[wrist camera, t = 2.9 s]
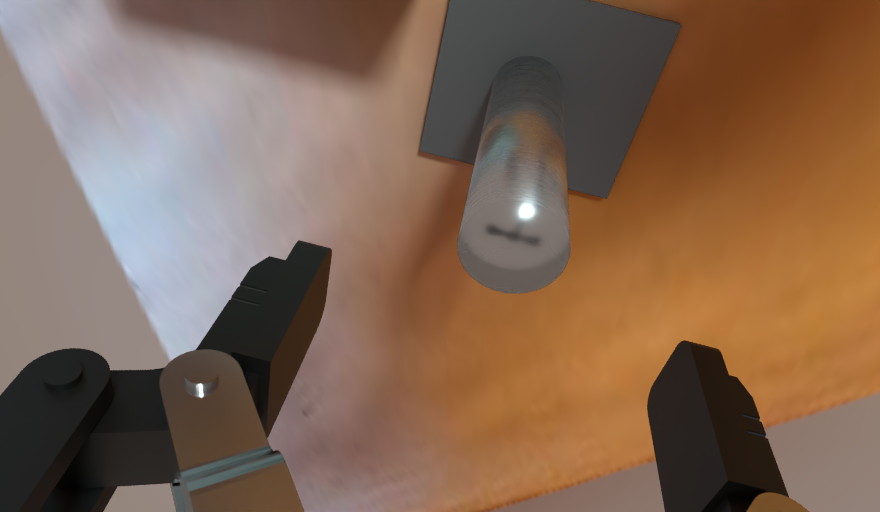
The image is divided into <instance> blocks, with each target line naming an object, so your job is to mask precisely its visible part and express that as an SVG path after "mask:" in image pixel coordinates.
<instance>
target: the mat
mask: <svg viewBox="0 0 880 512" xmlns="http://www.w3.org/2000/svg"><path fill="white" fill-rule="evenodd" d="M680 28H681V25H680V23H677V22H673V21H669V20H665V19H661V18H657V17H653V16H649V15H645V14H641V13H638V12H634V11H630V10H626V9H622V8H618V7H614V6H610V5H606V4H602V3H598V2H595V1H591V0H450V3H449V8H448V13H447V18H446V23H445V28H444V33H443V38H442V42H441V47H440V52H439V57H438V62H437V67H436V72H435V77H434V82H433V87H432V92H431V97H430V101H429V106H428V111H427V116H426V121H425V126H424V131H423V136H422V141H421V146H420V151H422V152H426V153H430V154H434V155H438V156H442V157H446V158H450V159H454V160H458V161H461V162H465V163H469V164H473V165H475V160H476V156H477V151H478V147H479V142H480V138H481V134H482V129H483V125H484V120H485V116H486V111H487V107H488V103H489V98H490V94H491V89H492V85H493V81H494V78H495V76H496V74H497V73H498V71H499V70H500V69H501V67H502V66H503V65H505V64H506V63H507V62H509V61H510V60H512V59H515V58H517V57H521V56H535V57H539V58H542V59H544V60H546V61H548V62H549V63H551V64H552V65H553V66H554V67H555V68H556V70H557V71H558V73H559V75H560V77H561V80H562V84H563V100H564V123H565V145H566V167H567V189H571V190H575V191H578V192H582V193H586V194H590V195H594V196H598V197H602V198H606V199H607V197H608V195H609V192H610V190H611V188H612V185H613V183H614V181H615V178H616V176H617V174H618V171H619V169H620V167H621V165H622V162H623V160H624V158H625V155H626V153H627V151H628V148H629V146H630V144H631V141H632V139H633V137H634V134H635V132H636V130H637V128H638V125H639V123H640V121H641V118H642V116H643V114H644V111H645V109H646V107H647V104H648V102H649V100H650V97H651V95H652V93H653V90H654V88H655V86H656V84H657V81H658V79H659V77H660V74H661V72H662V70H663V67H664V65H665V63H666V60H667V58H668V56H669V53H670V51H671V49H672V47H673V44H674V42H675V40H676V37H677V35H678V33H679V30H680Z"/></svg>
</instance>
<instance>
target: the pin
mask: <svg viewBox="0 0 880 512" xmlns="http://www.w3.org/2000/svg"><path fill="white" fill-rule="evenodd" d="M457 250H458V255H459V259H460V261H461V263H462V265H463V267H464V269H465V270H466V271H467V272H468V274H469V275H470V276H471V277H472V278H473V279H474V280H476V281H477V282H479V283H480V284H482V285H484V286H485V287H488V288H490V289H492V290H496V291H499V292H504V293H527V292H532V291H535V290H538V289H541V288H543V287H545V286H547V285H548V284H550V283H552V282H553V281H554V280H555V279H556V278H557V277H558V276H559V275H560V274H561V273H562V272H563V270H564V269H565V267H566V265H567V262H568V259H569V255H570V233H569V211H568V189H567V167H566V145H565V123H564V100H563V84H562V80H561V77H560V75H559V73H558V71H557V70H556V68H555V67H554V66H553V65H552V64H551V63H549V62H548V61H546V60H544V59H542V58H539V57H535V56H521V57H517V58H515V59H512V60H510V61H509V62H507V63H506V64H505V65H503V66H502V67H501V69H500V70H499V71H498V73H497V74H496V76H495V78H494V81H493V85H492V89H491V94H490V98H489V103H488V107H487V111H486V116H485V120H484V125H483V129H482V134H481V138H480V142H479V147H478V151H477V156H476V160H475V165H474V169H473V173H472V178H471V182H470V187H469V191H468V196H467V200H466V204H465V209H464V213H463V218H462V222H461V227H460V231H459V235H458V241H457Z"/></svg>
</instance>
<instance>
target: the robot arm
mask: <svg viewBox="0 0 880 512" xmlns="http://www.w3.org/2000/svg"><path fill="white" fill-rule="evenodd" d="M331 256H332V250H331V248H327V247H323V246H319V245H315V244H311V243H308V242H304V241H298V242H297V243H296V244H295V246H294V248H293V249H292V251H291V253H290V254H289V256H288V258H287V259H286V260H282V259H278V258H274V257H270V256H269V257H268V258H266V259H264V260H263V261H261V262H260V263H258V264H256V265H255V266H253V267H251V269H250V270H249V271H248V273H247V274H246V276H245V277H244V279H243V280H242V282H241V283H240V287H238V288H237V289H236V291H235V292H234V294H233V295H232V298H231V300H229V301H228V303H227V304H226V306H225V307H224V309H223V310H222V312H221V313H220V315H219V316H218V318H217V319H216V321H215V322H214V324H213V325H212V327H211V328H210V330H209V331H208V333H207V334H206V336H205V337H204V339H203V340H202V342H201V343H200V345H199V346H198V347H197V349H196V350H194V351H190V352H187V353H184V354H182V355H180V356H178V357H176V358H175V359H173V360H172V361H171V362H169V363H168V365H167V366H166V367H165V368H161V369H154V370H118V371H117V370H113V371H112V370H111V371H110V368H109V365H108V363H107V361H106V360H105V359H104V358H103V357H102V356H100V355H99V354H97V353H95V352H93V351H90V350H85V349H76V348H73V349H72V348H71V349H62V350H57V351H54V352H51V353H47V354H45V355H43V356H41V357H39V358H37V359H36V360H33V361H32V362H31V363H29V364H28V365H27V366H26V367H25V368H24V369H23V370H22V371H21V372H20V374H18V376H17V377H16V378H15V379H14V380H13V381H12V383H11V384H10V385H9V386H8V387H7V388H6V390H5V391H4V392H3V393H2V394H1V395H0V512H103V511H104V509H105V507H106V506H107V504H108V502H109V500H110V498H111V497H112V495H113V493H114V492H115V490H116V488H117V486H131V485H147V484H163V483H170V486H171V490H172V495H173V499H174V504H175V508H176V512H304V509H303V507H302V504H301V501H300V499H299V496H298V493H297V491H296V488H295V486H294V483H293V480H292V478H291V475H290V472H289V470H288V467H287V465H286V462H285V460H284V458H283V456H282V454H281V453H280V452H279V451H278V450H276V451H272V449H271V447H270V445H269V443H268V440H267V438H268V436H269V434H270V432H271V429H272V427H273V425H274V423H275V421H276V418H277V416H278V414H279V412H280V410H281V407H282V405H283V403H284V401H285V399H286V396H287V394H288V392H289V390H290V388H291V385H292V383H293V381H294V379H295V377H296V374H297V372H298V370H299V368H300V366H301V363H302V361H303V359H304V357H305V355H306V353H307V350H308V348H309V346H310V344H311V342H312V339H313V337H314V335H315V333H316V331H317V328H318V326H319V323H320V321H321V318H322V314H323V311H324V307H325V302H326V295H327V287H328V280H329V272H330V264H331ZM647 410H648V417H649V423H650V428H651V434H652V440H653V445H654V451H655V457H656V462H657V468H658V474H659V480H660V485H661V491H662V496H663V502H664V508H665V512H809V511H808V510H807V509H805V508H804V507H803V506H802V505H800V504H799V503H797V502H796V501H794V500H792V499H791V498H789V496H788V493H787V490H786V488H785V485H784V482H783V480H782V477H781V474H780V471H779V469H778V466H777V463H776V460H775V458H774V455H773V452H772V449H771V447H770V444H769V441H768V439H767V438H765V436H766V433H765V430H764V427H763V425H762V422H760V421H759V419H760V416H759V414H758V411H757V408H756V406H755V403H754V400H753V397H752V396H751V395H750V394H749V392H748V391H747V390H746V388H745V387H744V386H743V385H742V383H741V382H740V381H739V379H738V378H737V377H734V376H730V375H729V374H728V371H727V368H726V365H725V362H724V359H723V356H722V354H721V352H720V350H718V349H716V348H712V347H709V346H705V345H701V344H697V343H693V342H689V341H681V342H680V343H679V344H678V345H677V347H676V348H675V350H674V351H673V353H672V355H671V356H670V358H669V359H668V361H667V363H666V364H665V366H664V367H663V369H662V371H661V372H660V374H659V375H658V377H657V379H656V380H655V382H654V383H653V385H652V387H651V390H650V393H649V397H648V405H647Z"/></svg>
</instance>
